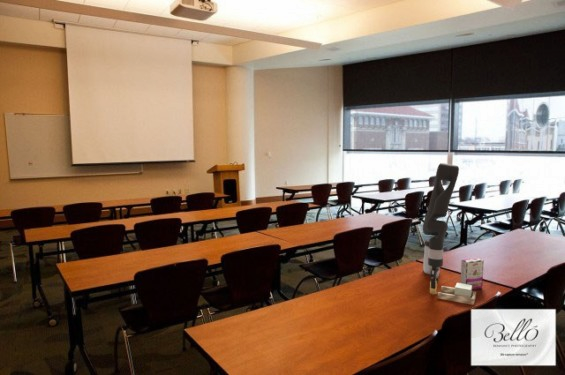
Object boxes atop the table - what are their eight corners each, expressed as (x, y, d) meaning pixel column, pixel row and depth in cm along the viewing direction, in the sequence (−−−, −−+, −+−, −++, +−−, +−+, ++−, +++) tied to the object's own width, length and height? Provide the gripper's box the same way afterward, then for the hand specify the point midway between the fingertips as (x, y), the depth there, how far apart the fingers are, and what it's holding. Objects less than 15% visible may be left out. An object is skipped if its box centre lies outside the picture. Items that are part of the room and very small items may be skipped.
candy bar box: (476, 285, 233) (477, 257, 231) (482, 288, 228) (484, 260, 226) (459, 287, 230) (461, 259, 228) (465, 290, 225) (467, 262, 223)
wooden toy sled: (437, 298, 215) (438, 292, 215) (441, 290, 225) (441, 285, 224) (473, 304, 207) (473, 299, 206) (475, 297, 216) (476, 291, 216)
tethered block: (428, 295, 219) (428, 282, 218) (431, 290, 226) (431, 278, 225) (469, 302, 209) (470, 289, 208) (471, 297, 216) (472, 285, 215)
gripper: (440, 261, 211) (439, 291, 213) (444, 254, 223) (443, 282, 225) (425, 259, 214) (424, 288, 216) (430, 252, 227) (429, 280, 229)
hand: (434, 285), depth 221 cm, fingers open, 8 cm apart
